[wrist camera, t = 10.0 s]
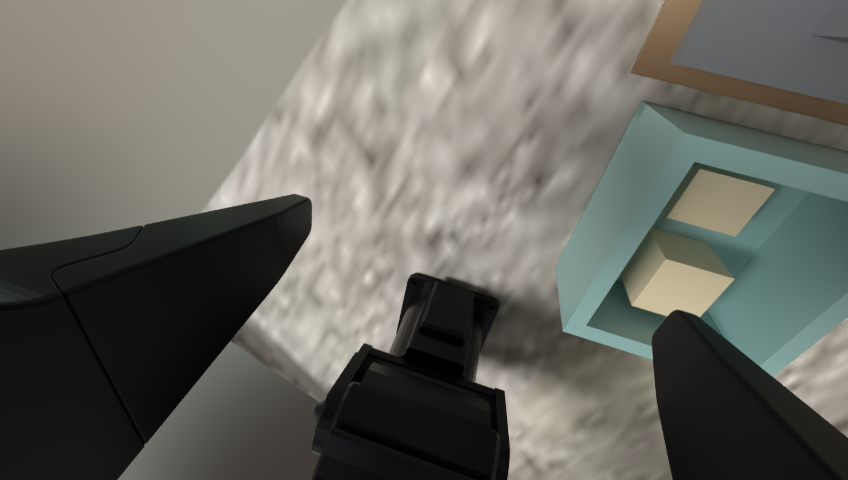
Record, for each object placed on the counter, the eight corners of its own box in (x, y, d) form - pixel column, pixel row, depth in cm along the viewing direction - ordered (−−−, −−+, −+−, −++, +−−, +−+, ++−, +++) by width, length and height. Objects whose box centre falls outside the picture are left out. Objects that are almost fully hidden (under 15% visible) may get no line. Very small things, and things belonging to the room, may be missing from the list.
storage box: (705, 311, 21) (753, 391, 17) (555, 266, 22) (562, 331, 17) (850, 152, 15) (983, 209, 11) (641, 100, 16) (684, 133, 12)
